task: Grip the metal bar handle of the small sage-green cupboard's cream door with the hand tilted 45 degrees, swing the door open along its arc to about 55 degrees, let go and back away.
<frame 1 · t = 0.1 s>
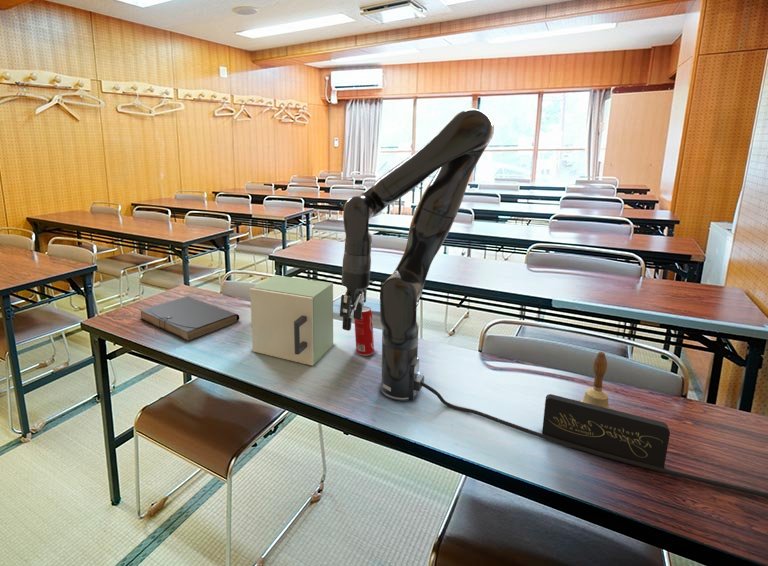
hand: (352, 324, 119), 17 cm above the table, tool pointing down, fingers open, 8 cm apart
file folder: (189, 320, 170), on the table
nameplate: (598, 452, 92), on the table
hand bell: (594, 413, 105), on the table
door: (276, 329, 132), point 11 cm above the table, hinge at 0.0°
cupboard: (294, 347, 144), on the table
beverage can: (363, 352, 139), on the table
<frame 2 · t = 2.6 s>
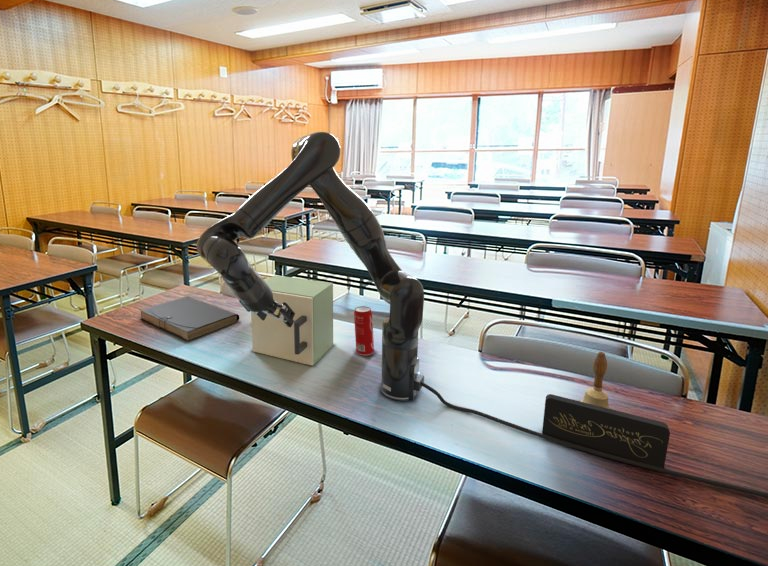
hand: (277, 320, 114), 20 cm above the table, tool tilted 45°, fingers open, 8 cm apart
nothing on the table moved.
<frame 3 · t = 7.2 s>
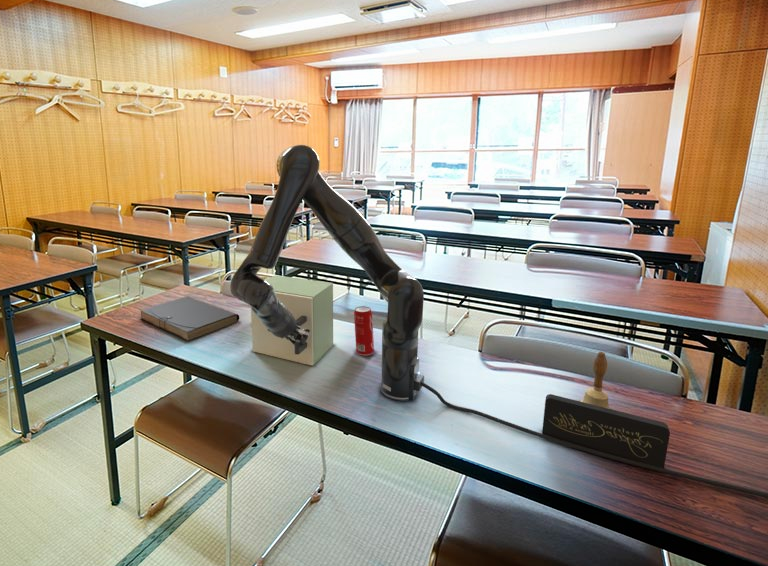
hand: (299, 342, 127), 9 cm above the table, tool tilted 45°, fingers closed on door
door: (276, 329, 132), point 11 cm above the table, hinge at 0.0°, touching gripper
everything else where it was.
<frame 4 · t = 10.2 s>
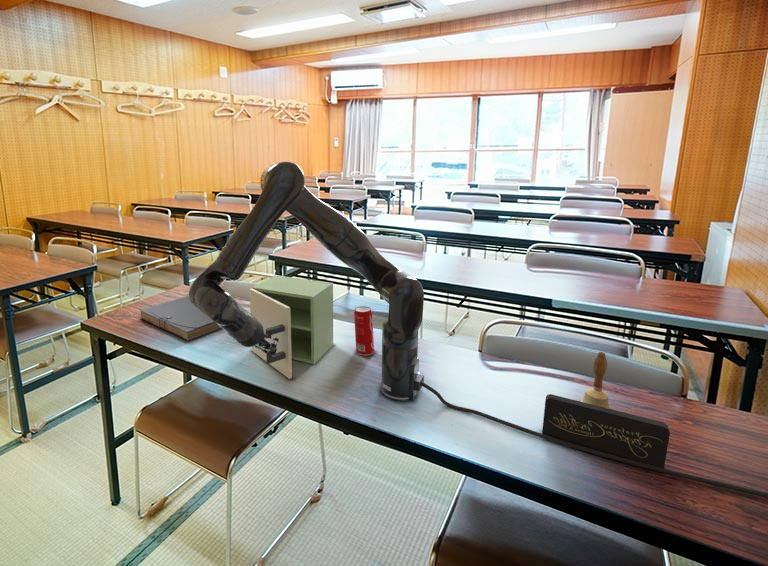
hand: (270, 351, 122), 9 cm above the table, tool tilted 45°, fingers closed on door
door: (261, 333, 129), point 11 cm above the table, hinge at 27.1°, touching gripper
everything else where it was.
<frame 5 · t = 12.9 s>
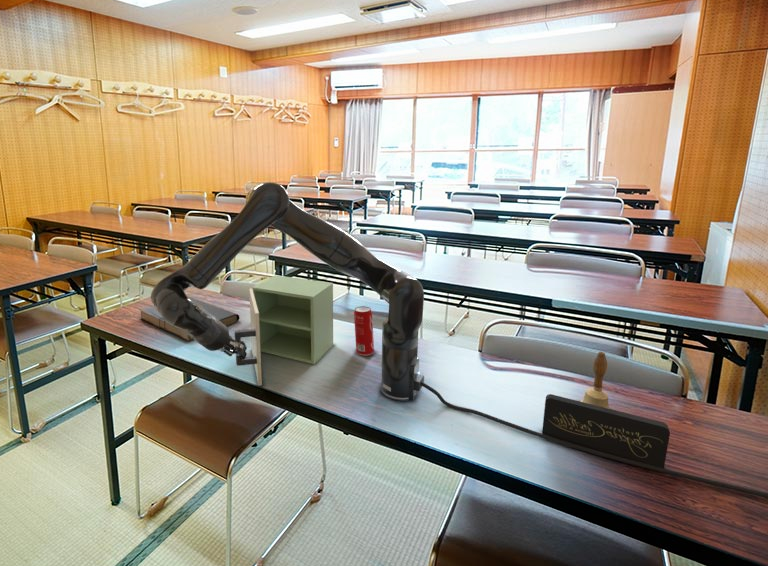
hand: (237, 354, 121), 9 cm above the table, tool tilted 45°, fingers open, 3 cm apart
door: (245, 334, 129), point 11 cm above the table, hinge at 51.6°
everything else where it was.
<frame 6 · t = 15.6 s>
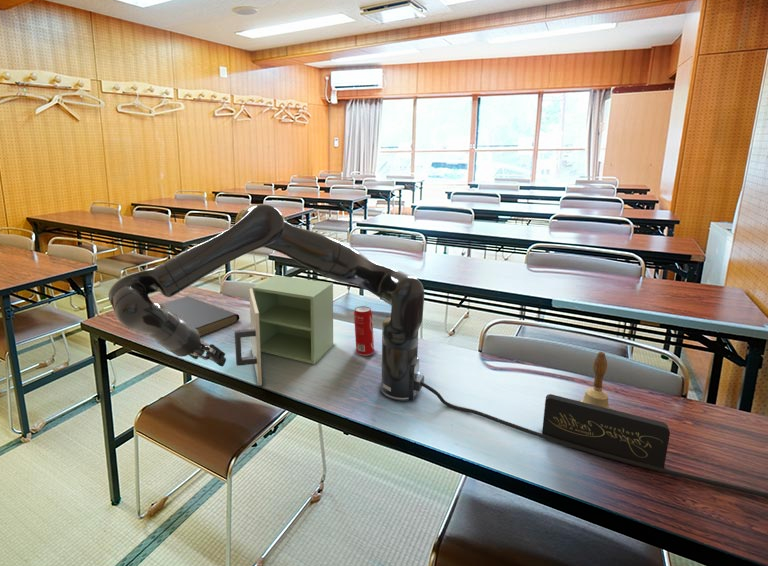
hand: (210, 359, 111), 13 cm above the table, tool tilted 45°, fingers open, 8 cm apart
nothing on the table moved.
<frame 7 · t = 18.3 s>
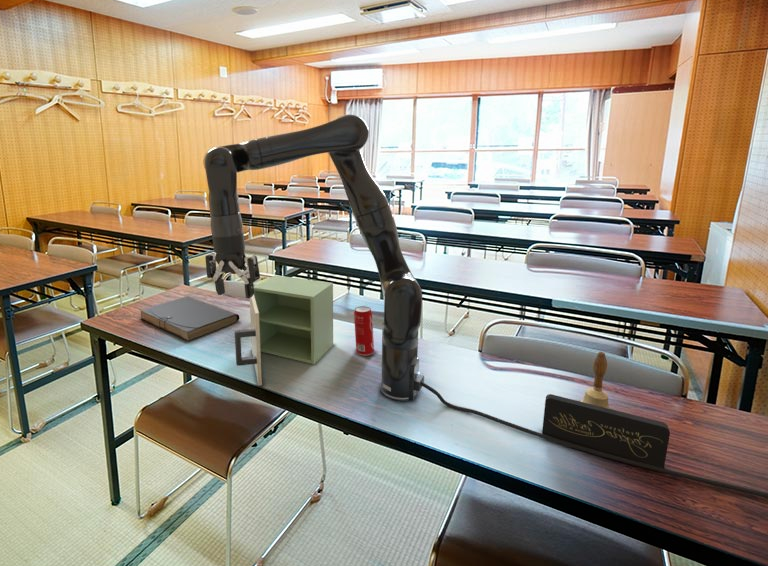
hand: (235, 295, 106), 30 cm above the table, tool pointing down, fingers open, 8 cm apart
nothing on the table moved.
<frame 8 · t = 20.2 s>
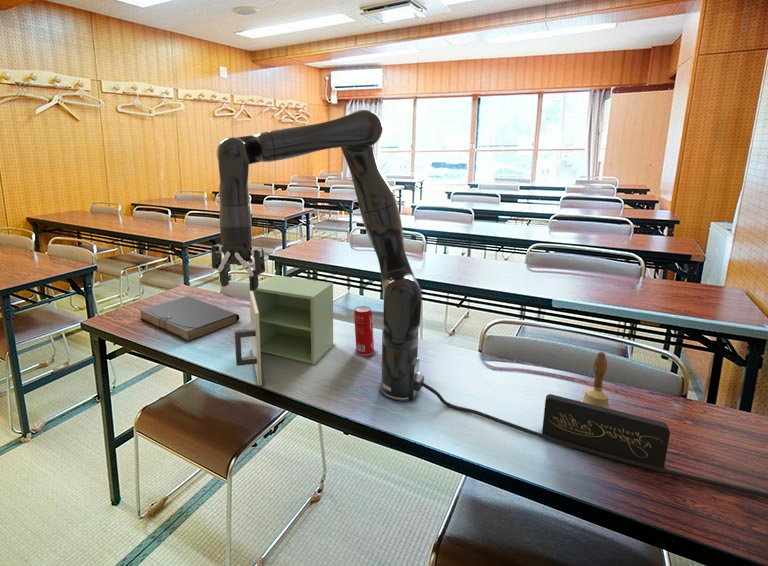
hand: (239, 287, 105), 32 cm above the table, tool pointing down, fingers open, 8 cm apart
nothing on the table moved.
at the end: door at +52° (first picture: +0°) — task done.
